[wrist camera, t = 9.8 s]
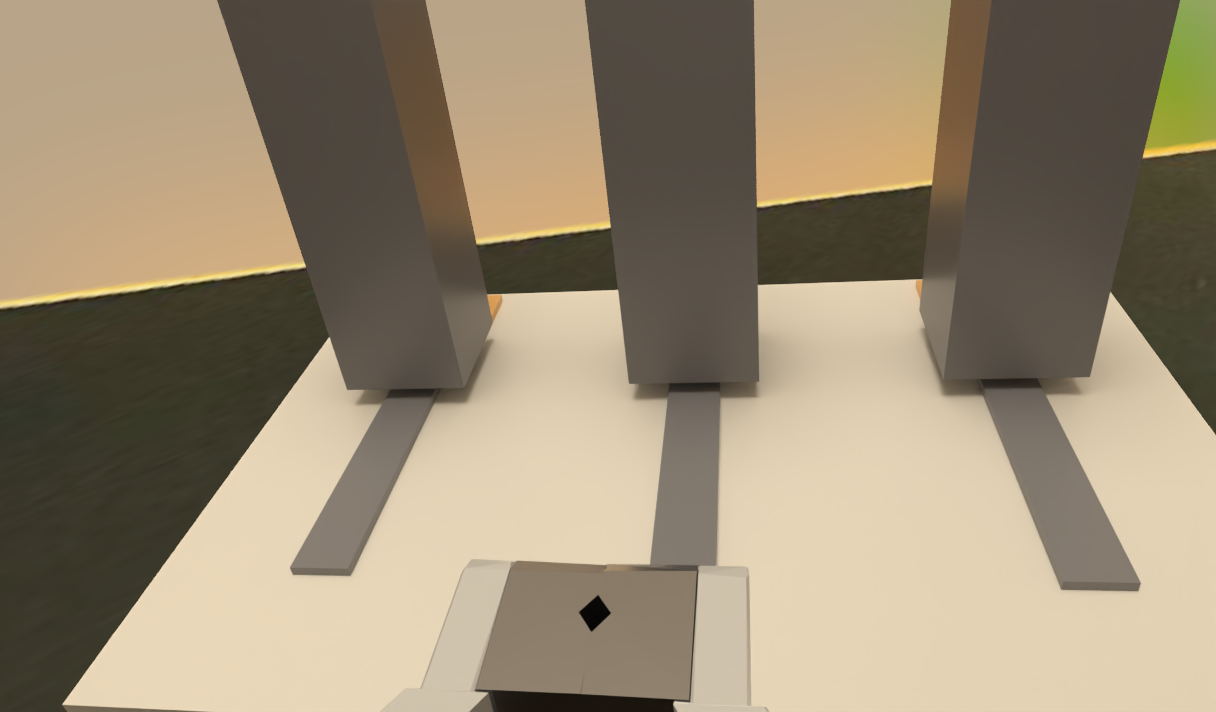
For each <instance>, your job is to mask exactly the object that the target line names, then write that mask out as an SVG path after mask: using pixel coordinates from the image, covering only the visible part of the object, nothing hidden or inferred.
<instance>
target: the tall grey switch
mask: <svg viewBox="0 0 1216 712" xmlns="http://www.w3.org/2000/svg"><path fill="white" fill-rule="evenodd" d="M1179 3H1180V0H951V8H950V18H949V27H948V37H947V47H946V57H945V66H944V77H943V86H942V95H941V105H940V115H939V124H938V134H937V144H936V153H935V163H934V173H933V182H932V192H931V202H930V212H929V221H928V231H927V241H926V250H925V260H924V270H923V279H922V289H921V299H920V308H919V311H920V314H921V317H922V320H923V323H924V326H925V328H926V331H927V334H928V337H929V340H930V343H931V346H932V348H933V351H934V354H935V357H936V360H937V363H938V366H939V369H940V371H941V374H942V377H943V380H956V379H1014V378H1072V377H1090V375H1091V371H1092V366H1093V362H1094V358H1095V354H1096V350H1097V345H1098V341H1099V337H1100V333H1101V329H1102V325H1103V320H1104V316H1105V312H1106V308H1107V304H1108V300H1109V295H1110V291H1111V287H1112V283H1113V279H1114V274H1115V270H1116V266H1117V262H1118V258H1119V254H1120V249H1121V245H1122V241H1123V237H1124V233H1125V228H1126V224H1127V220H1128V216H1129V212H1130V208H1131V203H1132V199H1133V195H1134V191H1135V187H1136V183H1137V178H1138V174H1139V170H1140V166H1141V162H1142V157H1143V153H1144V149H1145V145H1146V141H1147V137H1148V132H1149V128H1150V124H1151V119H1152V116H1153V111H1154V107H1155V103H1156V99H1157V95H1158V90H1159V86H1160V82H1161V78H1162V74H1163V69H1164V65H1165V61H1166V57H1167V53H1168V49H1169V44H1170V40H1171V36H1172V32H1173V27H1174V23H1175V19H1176V15H1177V11H1178V7H1179Z"/></svg>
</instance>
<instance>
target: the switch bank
mask: <svg viewBox="0 0 1216 712" xmlns="http://www.w3.org/2000/svg"><path fill="white" fill-rule="evenodd" d="M921 289H922V279H920V280H892V281H863V282H835V283H807V284H778V285H758V338H759V382H709V383H652V384H629V380H628V372H627V363H626V354H625V345H624V337H623V328H622V319H621V311H620V302H619V293H618V290H607V291H579V292H550V293H522V294H494V295H487V297H488V302H489V307H490V312H491V317H492V321H493V324H492V326H491V329H490V331H489V333H488V335H487V338H486V340H485V342H484V344H483V347H482V349H481V351H480V353H479V356H478V358H477V360H476V362H475V365H474V367H473V369H472V371H471V374H470V376H469V378H468V380H467V383H466V385H465V387H464V388H436V389H378V390H347V388H346V385H345V382H344V379H343V376H342V373H341V370H340V367H339V364H338V361H337V358H336V355H335V352H334V349H333V346H332V343H331V340H330V337H329V338H328V340H327V341H326V342H325V344H324V345H323V347H322V348H321V349H320V351H319V352H318V353H317V355H316V356H315V358H314V359H313V360H312V362H311V363H310V364H309V366H308V367H307V369H306V370H305V371H304V373H303V374H302V375H301V377H300V378H299V380H298V381H297V382H296V384H295V385H294V386H293V388H292V389H291V391H290V392H289V393H288V395H287V396H286V398H285V399H284V400H283V402H282V403H281V404H280V406H279V407H278V409H277V410H276V411H275V413H274V414H273V415H272V417H271V418H270V420H269V421H268V422H267V424H266V425H265V426H264V428H263V429H262V431H261V432H260V433H259V435H258V436H257V437H256V439H255V440H254V442H253V443H252V444H251V446H250V447H249V448H248V450H247V451H246V453H245V454H244V455H243V457H242V458H241V459H240V461H239V462H238V464H237V465H236V466H235V468H234V469H233V470H232V472H231V473H230V475H229V476H228V477H227V479H226V480H225V481H224V483H223V484H222V486H221V487H220V488H219V490H218V491H217V492H216V494H215V495H214V497H213V498H212V499H211V501H210V502H209V503H208V505H207V506H206V508H205V509H204V510H203V512H202V513H201V514H200V516H199V517H198V519H197V520H196V521H195V523H194V524H193V525H192V527H191V528H190V530H189V531H188V532H187V534H186V535H185V536H184V538H183V539H182V541H181V542H180V543H179V545H178V546H177V547H176V549H175V550H174V552H173V553H172V554H171V556H170V557H169V558H168V560H167V561H166V563H165V564H164V565H163V567H162V568H161V570H160V571H159V572H158V574H157V575H156V576H155V578H154V579H153V581H152V582H151V583H150V585H149V586H148V587H147V589H146V590H145V592H144V593H143V594H142V596H141V597H140V598H139V600H138V601H137V603H136V604H135V605H134V607H133V608H132V609H131V611H130V612H129V614H128V615H127V616H126V618H125V619H124V620H123V622H122V623H121V625H120V626H119V627H118V629H117V630H116V631H115V633H114V634H113V636H112V637H111V638H110V640H109V641H108V642H107V644H106V645H105V647H104V648H103V649H102V651H101V652H100V653H99V655H98V656H97V658H96V659H95V660H94V662H93V663H92V664H91V666H90V667H89V669H88V670H87V671H86V673H85V674H84V675H83V677H82V678H81V680H80V681H79V682H78V684H77V685H76V686H75V688H74V689H73V691H72V692H71V693H70V695H69V696H68V697H67V699H66V700H65V702H64V703H63V704H62V705H63V706H64V708H65V709H66V711H67V712H380V711H381V710H382V709H383V708H385V707H386V706H387V705H388V704H389V703H390V702H391V701H392V700H394V699H395V698H396V697H397V696H398V695H399V694H400V693H402V692H403V691H404V690H405V689H406V688H420V687H421V685H422V682H423V679H424V676H425V674H426V671H427V668H428V665H429V662H430V660H431V657H432V654H433V651H434V648H435V646H436V643H437V640H438V637H439V634H440V632H441V629H442V626H443V623H444V620H445V618H446V615H447V612H448V609H449V606H450V604H451V601H452V598H453V595H454V592H455V590H456V587H457V584H458V581H459V579H460V576H461V573H462V571H463V569H464V568H465V567H466V566H467V564H468V563H469V562H470V560H471V559H482V560H503V561H536V562H556V563H575V564H595V565H607V564H646V565H699V568H700V566H745V567H748V570H749V583H750V645H751V706H762V707H767V709H768V710H769V712H1216V435H1215V434H1214V432H1213V431H1212V430H1211V428H1210V427H1209V425H1208V424H1207V423H1206V421H1205V420H1204V419H1203V417H1202V416H1201V415H1200V413H1199V412H1198V411H1197V409H1196V408H1195V406H1194V405H1193V404H1192V402H1191V401H1190V400H1189V398H1188V397H1187V396H1186V394H1185V393H1184V391H1183V390H1182V389H1181V387H1180V386H1179V385H1178V383H1177V382H1176V381H1175V379H1174V378H1173V376H1172V375H1171V374H1170V372H1169V371H1168V370H1167V368H1166V367H1165V366H1164V364H1163V363H1162V362H1161V360H1160V359H1159V357H1158V356H1157V355H1156V353H1155V352H1154V351H1153V349H1152V348H1151V347H1150V345H1149V344H1148V342H1147V341H1146V340H1145V338H1144V337H1143V336H1142V334H1141V333H1140V332H1139V330H1138V329H1137V327H1136V326H1135V325H1134V323H1133V322H1132V321H1131V319H1130V318H1129V317H1128V315H1127V314H1126V313H1125V311H1124V310H1123V308H1122V307H1121V306H1120V304H1119V303H1118V302H1117V300H1116V299H1115V298H1114V296H1113V295H1112V293H1111V292H1110V295H1109V300H1108V304H1107V308H1106V312H1105V316H1104V320H1103V325H1102V329H1101V333H1100V337H1099V341H1098V345H1097V350H1096V354H1095V358H1094V362H1093V366H1092V371H1091V375H1090V377H1072V378H1014V379H956V380H943V377H942V374H941V371H940V369H939V366H938V363H937V360H936V357H935V354H934V351H933V348H932V346H931V343H930V340H929V337H928V334H927V331H926V328H925V326H924V323H923V320H922V317H921V314H920V311H919V308H920V299H921Z"/></svg>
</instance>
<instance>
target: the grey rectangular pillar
mask: <svg viewBox="0 0 1216 712" xmlns="http://www.w3.org/2000/svg"><path fill="white" fill-rule="evenodd" d="M585 5H586V13H587V23H588V31H589V40H590V49H591V57H592V66H593V75H594V84H595V92H596V101H597V110H598V118H599V127H600V136H601V145H602V153H603V161H604V171H605V180H606V188H607V196H608V206H609V214H610V223H611V232H612V241H613V249H614V258H615V267H616V276H617V284H618V293H619V302H620V311H621V319H622V328H623V337H624V345H625V354H626V363H627V372H628V380H629V384H652V383H709V382H759V338H758V268H757V198H756V129H755V65H754V64H755V63H754V62H755V60H754V59H755V58H754V0H585Z"/></svg>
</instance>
